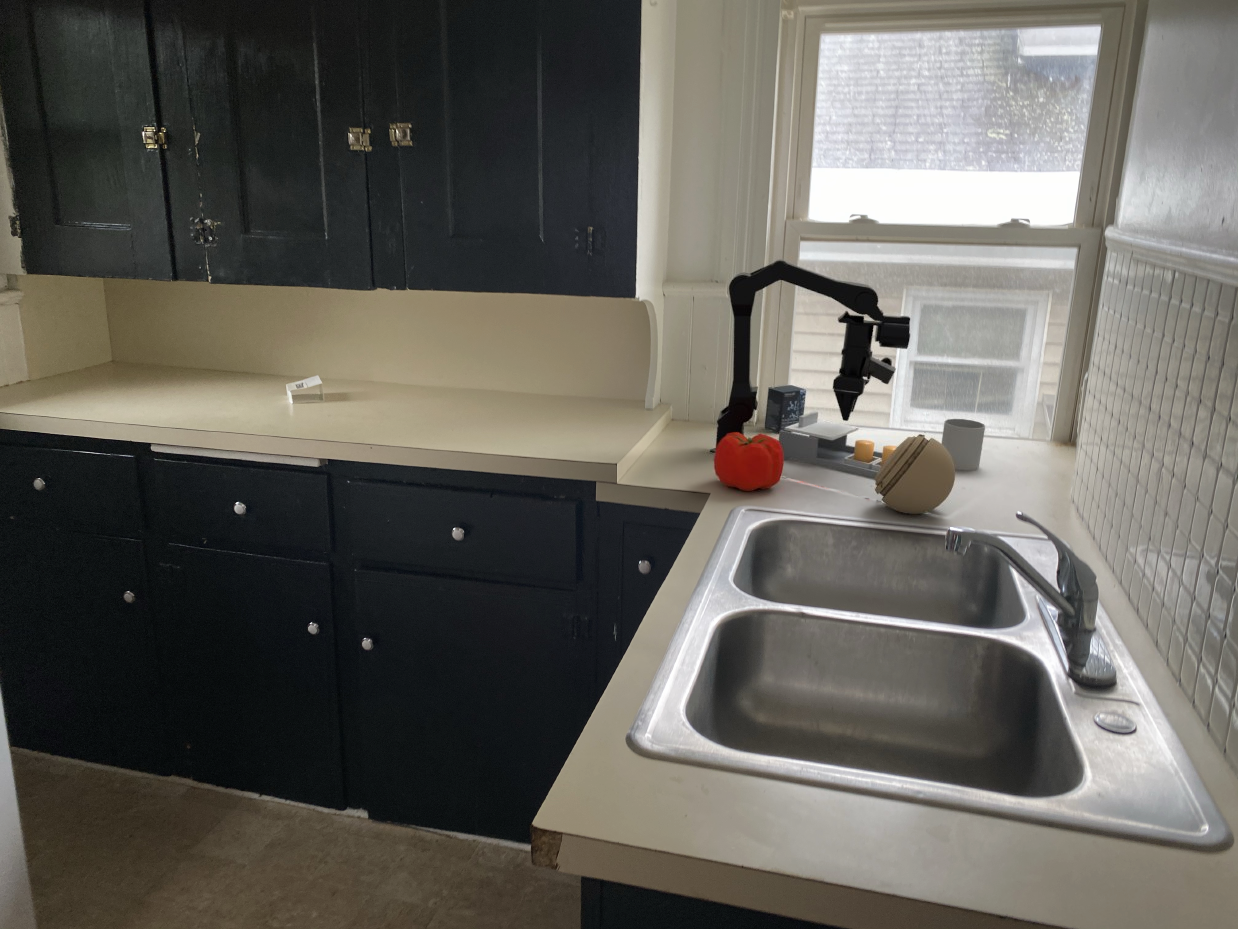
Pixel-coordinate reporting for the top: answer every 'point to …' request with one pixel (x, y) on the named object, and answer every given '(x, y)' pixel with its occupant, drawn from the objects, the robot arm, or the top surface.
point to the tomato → (748, 461)
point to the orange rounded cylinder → (864, 451)
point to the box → (784, 407)
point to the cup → (963, 442)
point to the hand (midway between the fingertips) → (848, 416)
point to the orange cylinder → (887, 453)
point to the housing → (827, 453)
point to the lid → (820, 427)
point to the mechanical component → (916, 476)
